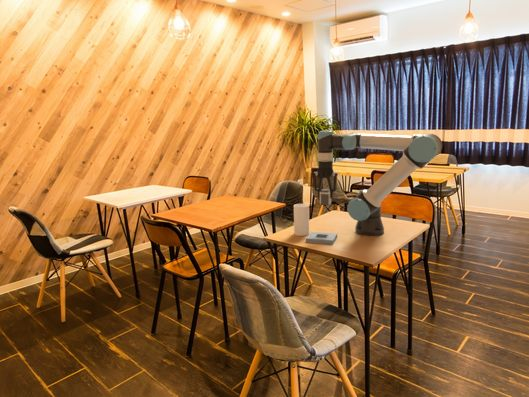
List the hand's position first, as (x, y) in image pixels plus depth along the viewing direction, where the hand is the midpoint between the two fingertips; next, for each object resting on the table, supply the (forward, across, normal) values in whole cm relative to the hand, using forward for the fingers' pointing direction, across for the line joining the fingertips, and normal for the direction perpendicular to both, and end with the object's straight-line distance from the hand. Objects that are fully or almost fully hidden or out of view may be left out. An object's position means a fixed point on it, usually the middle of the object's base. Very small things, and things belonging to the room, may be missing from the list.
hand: (325, 203), depth 210 cm
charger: (0, 0, 0) cm, 0 cm away
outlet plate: (+17, -1, +11) cm, 20 cm away
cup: (+17, +12, +3) cm, 21 cm away
